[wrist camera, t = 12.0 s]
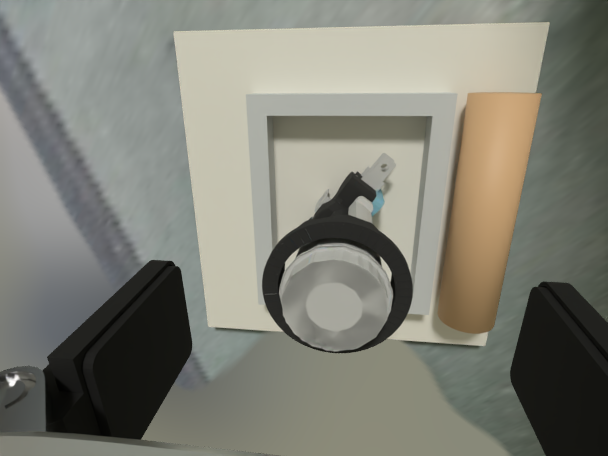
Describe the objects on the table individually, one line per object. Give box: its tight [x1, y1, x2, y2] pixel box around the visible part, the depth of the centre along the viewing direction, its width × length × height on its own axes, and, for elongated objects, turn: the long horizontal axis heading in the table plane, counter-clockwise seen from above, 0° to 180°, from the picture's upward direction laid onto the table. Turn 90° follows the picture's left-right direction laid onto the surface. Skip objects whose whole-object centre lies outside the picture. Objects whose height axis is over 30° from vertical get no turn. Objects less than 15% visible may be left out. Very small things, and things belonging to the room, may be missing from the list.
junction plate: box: [174, 22, 550, 346], centre depth 21 cm, size 18×18×4 cm
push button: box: [262, 153, 413, 353], centre depth 17 cm, size 7×5×10 cm
